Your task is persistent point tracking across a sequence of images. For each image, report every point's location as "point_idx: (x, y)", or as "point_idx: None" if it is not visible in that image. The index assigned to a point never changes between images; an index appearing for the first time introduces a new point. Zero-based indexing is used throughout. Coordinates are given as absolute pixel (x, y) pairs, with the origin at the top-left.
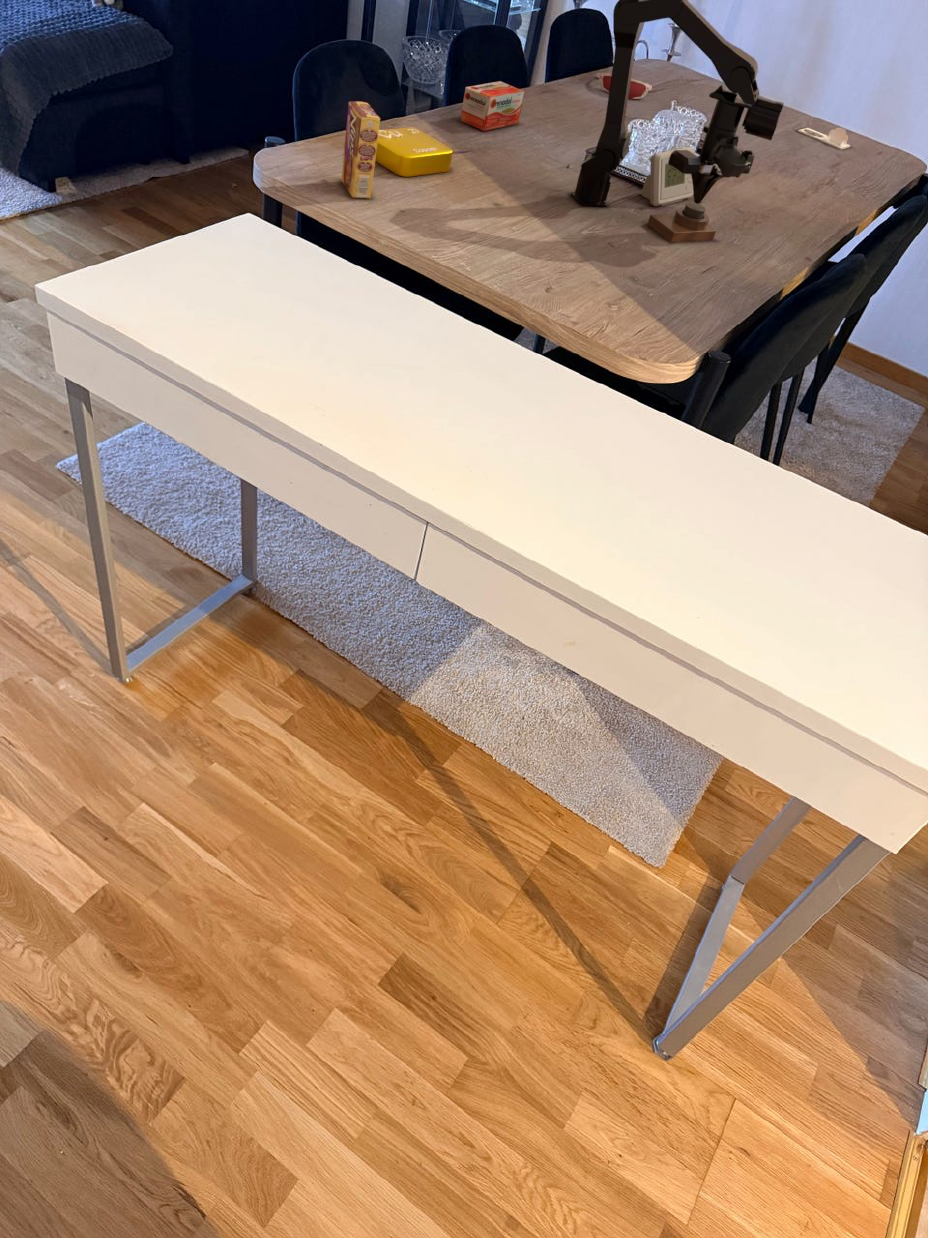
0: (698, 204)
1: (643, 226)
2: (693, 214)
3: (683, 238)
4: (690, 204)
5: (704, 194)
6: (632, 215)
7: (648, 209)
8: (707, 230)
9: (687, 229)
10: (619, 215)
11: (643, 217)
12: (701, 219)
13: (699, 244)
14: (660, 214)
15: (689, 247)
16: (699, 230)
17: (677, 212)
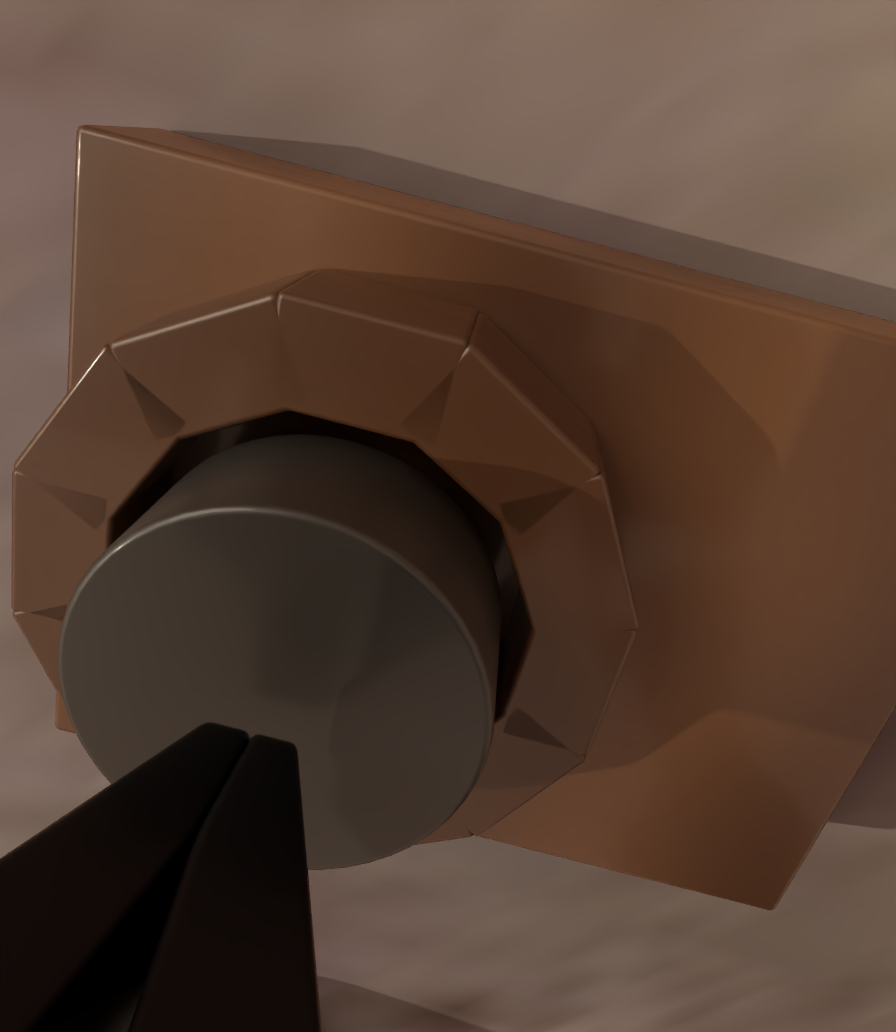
0: (112, 743)
1: (848, 797)
2: (461, 557)
3: (783, 297)
4: (318, 803)
5: (84, 876)
6: (692, 979)
7: (363, 987)
8: (269, 201)
9: (665, 382)
10: (848, 1025)
11: (605, 915)
12: (328, 396)
13: (534, 104)
14: (610, 862)
15: (846, 81)
16: (452, 261)
17: (572, 764)
